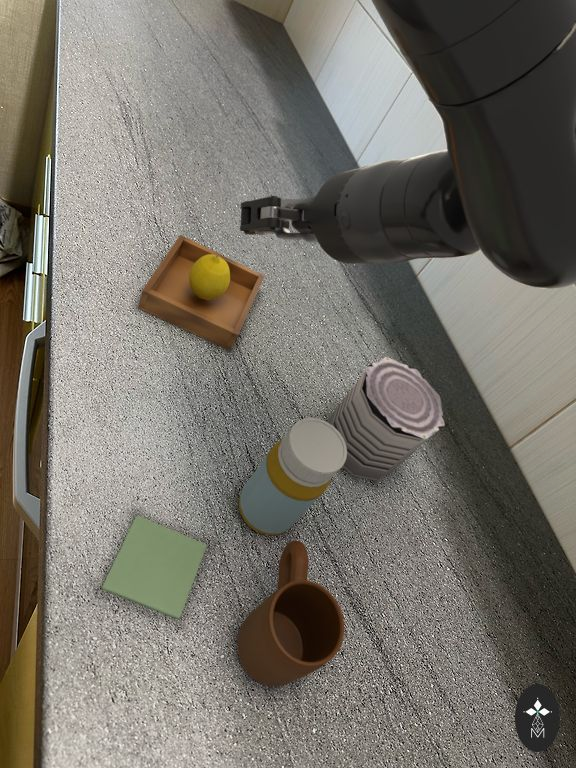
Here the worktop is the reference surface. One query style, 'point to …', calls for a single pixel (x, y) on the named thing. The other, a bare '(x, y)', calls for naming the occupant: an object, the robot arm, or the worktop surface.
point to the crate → (199, 316)
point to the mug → (291, 625)
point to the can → (386, 418)
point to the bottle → (292, 476)
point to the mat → (155, 567)
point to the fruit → (209, 277)
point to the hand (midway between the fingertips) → (285, 227)
